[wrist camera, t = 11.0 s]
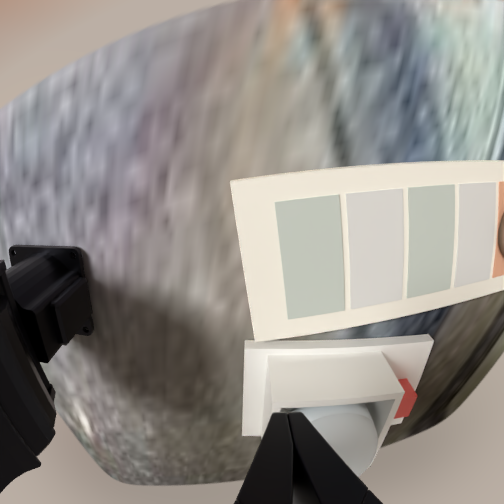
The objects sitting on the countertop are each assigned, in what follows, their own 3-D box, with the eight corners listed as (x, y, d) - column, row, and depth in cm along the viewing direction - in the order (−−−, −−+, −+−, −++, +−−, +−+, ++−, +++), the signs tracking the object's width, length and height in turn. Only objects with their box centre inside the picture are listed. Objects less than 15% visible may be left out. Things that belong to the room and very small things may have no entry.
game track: (254, 334, 21) (255, 342, 20) (230, 180, 18) (230, 182, 17) (518, 278, 20) (526, 283, 19) (526, 161, 17) (535, 162, 16)
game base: (242, 427, 24) (241, 479, 19) (244, 339, 21) (244, 395, 16) (397, 416, 24) (418, 459, 19) (428, 333, 22) (463, 375, 16)
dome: (276, 440, 21) (282, 506, 15) (284, 383, 19) (295, 457, 13) (353, 434, 21) (372, 495, 15) (372, 378, 19) (403, 443, 14)
